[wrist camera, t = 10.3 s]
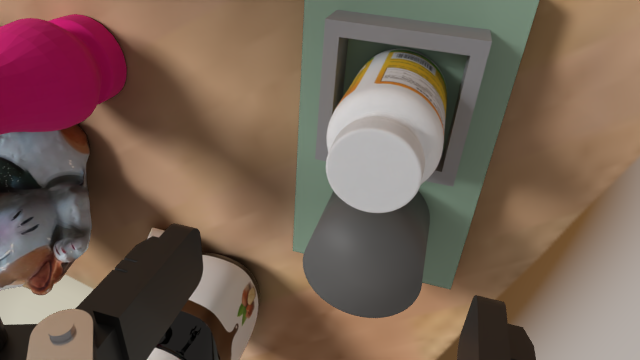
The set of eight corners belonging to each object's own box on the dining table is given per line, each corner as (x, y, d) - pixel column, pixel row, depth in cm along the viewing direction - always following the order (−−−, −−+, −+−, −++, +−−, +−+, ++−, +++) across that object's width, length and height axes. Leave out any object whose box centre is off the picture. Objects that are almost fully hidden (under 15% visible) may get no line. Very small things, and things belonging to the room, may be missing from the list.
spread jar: (266, 328, 44) (210, 446, 34) (164, 305, 47) (84, 408, 37) (257, 229, 38) (184, 339, 28) (139, 209, 41) (37, 303, 31)
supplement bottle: (372, 144, 29) (336, 237, 21) (341, 64, 27) (288, 133, 19) (459, 121, 26) (456, 215, 18) (432, 32, 24) (416, 93, 16)
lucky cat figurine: (80, 84, 35) (17, 244, 27) (139, 176, 45) (106, 314, 37) (-109, 98, 36) (-227, 260, 27) (-10, 186, 45) (-75, 325, 37)
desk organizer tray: (316, -36, 26) (264, -17, 20) (536, -11, 24) (560, 20, 17) (300, 235, 37) (263, 307, 30) (451, 271, 34) (446, 357, 28)
